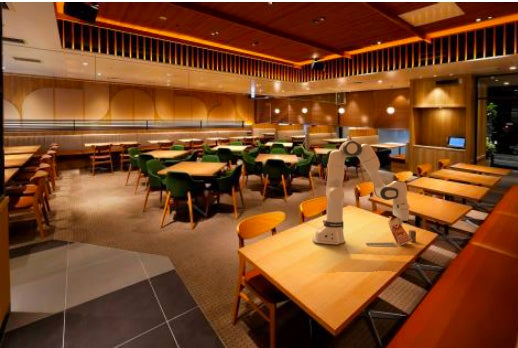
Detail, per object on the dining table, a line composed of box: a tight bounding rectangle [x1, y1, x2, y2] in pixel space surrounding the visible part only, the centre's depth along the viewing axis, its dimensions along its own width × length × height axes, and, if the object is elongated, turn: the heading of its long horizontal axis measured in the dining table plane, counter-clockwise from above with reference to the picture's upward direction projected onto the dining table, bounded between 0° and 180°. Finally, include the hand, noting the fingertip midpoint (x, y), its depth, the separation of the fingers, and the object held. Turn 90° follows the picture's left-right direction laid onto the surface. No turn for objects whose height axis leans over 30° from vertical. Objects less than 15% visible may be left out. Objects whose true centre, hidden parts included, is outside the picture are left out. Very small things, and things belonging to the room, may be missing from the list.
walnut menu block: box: [408, 229, 417, 243], centre depth 199 cm, size 4×4×8 cm
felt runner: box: [365, 241, 398, 248], centre depth 195 cm, size 19×9×1 cm, turn 82°
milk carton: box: [387, 216, 413, 247], centre depth 195 cm, size 9×9×20 cm
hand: (400, 224), depth 194 cm, fingers closed, pressing on milk carton
